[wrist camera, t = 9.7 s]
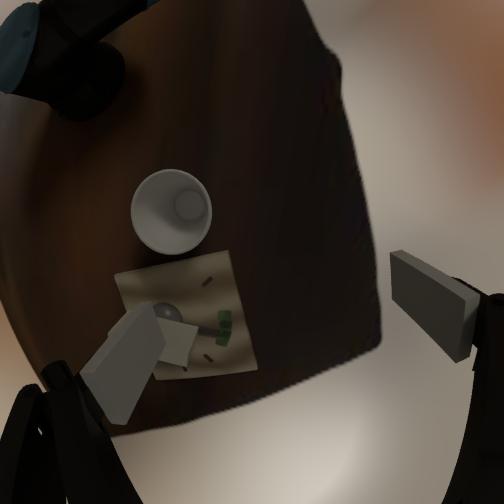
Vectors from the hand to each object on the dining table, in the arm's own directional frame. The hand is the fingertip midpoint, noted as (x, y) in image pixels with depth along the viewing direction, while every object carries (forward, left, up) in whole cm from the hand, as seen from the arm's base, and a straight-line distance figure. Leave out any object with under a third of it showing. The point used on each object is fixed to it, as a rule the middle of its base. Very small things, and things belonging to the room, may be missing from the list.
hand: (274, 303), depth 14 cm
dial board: (+14, -16, -29) cm, 36 cm away
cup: (-5, -10, -29) cm, 31 cm away
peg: (+13, -17, -27) cm, 35 cm away
